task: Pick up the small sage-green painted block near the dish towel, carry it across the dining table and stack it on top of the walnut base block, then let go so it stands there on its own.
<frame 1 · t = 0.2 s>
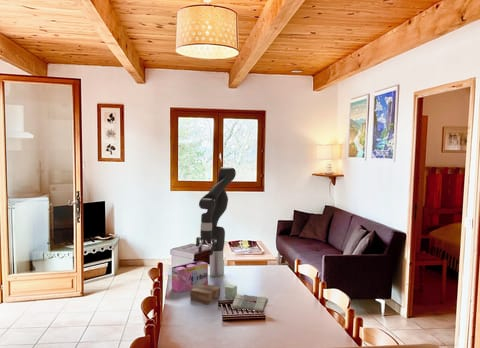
hand: (205, 254, 241), 17 cm above the table, tool pointing down, fingers open, 8 cm apart
sage block: (230, 296, 214), on the table
walnut base: (205, 299, 210), on the table
gum box: (190, 287, 230), on the table
dish towel: (249, 305, 203), on the table
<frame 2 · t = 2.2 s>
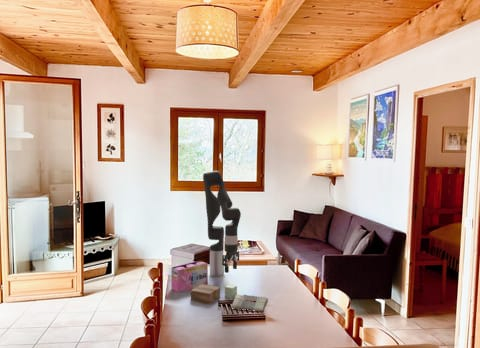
hand: (230, 270, 213), 15 cm above the table, tool pointing down, fingers open, 8 cm apart
nothing on the table moved.
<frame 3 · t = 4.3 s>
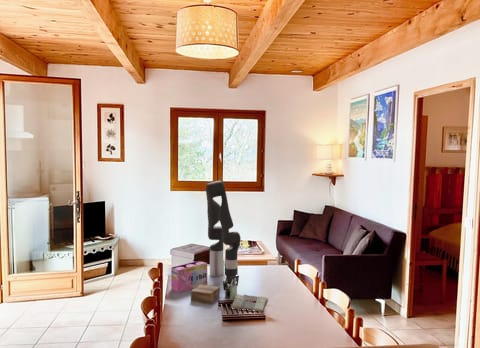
hand: (230, 295, 214), 0 cm above the table, tool pointing down, fingers closed on sage block, 5 cm apart
sage block: (230, 296, 214), on the table, touching gripper
everything else where it was.
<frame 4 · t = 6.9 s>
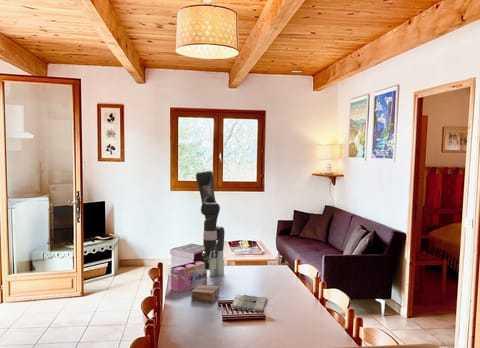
hand: (209, 267, 209), 18 cm above the table, tool pointing down, fingers closed on sage block, 5 cm apart
sage block: (209, 268, 210), point 17 cm above the table, touching gripper
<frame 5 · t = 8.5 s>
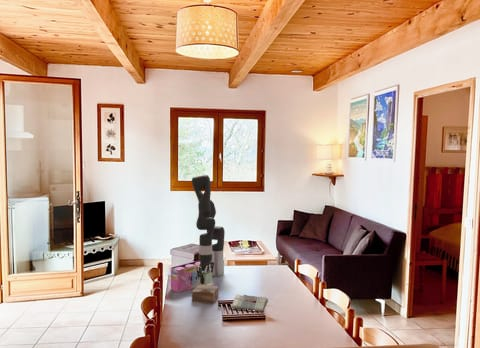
hand: (205, 282, 210), 9 cm above the table, tool pointing down, fingers closed on sage block, 5 cm apart
sage block: (205, 283, 210), point 9 cm above the table, touching gripper
when the fingers open (8 cm above the table, at t = 9.7 s): sage block drops 2 cm, resting on walnut base.
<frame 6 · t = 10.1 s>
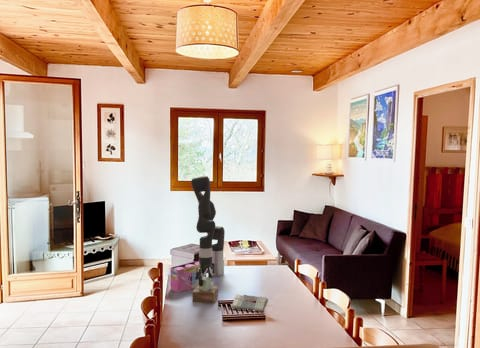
hand: (205, 283, 210), 9 cm above the table, tool pointing down, fingers open, 8 cm apart
sage block: (205, 289, 210), point 6 cm above the table, touching walnut base
walnut base: (205, 299, 210), on the table, touching sage block
everything else where it was.
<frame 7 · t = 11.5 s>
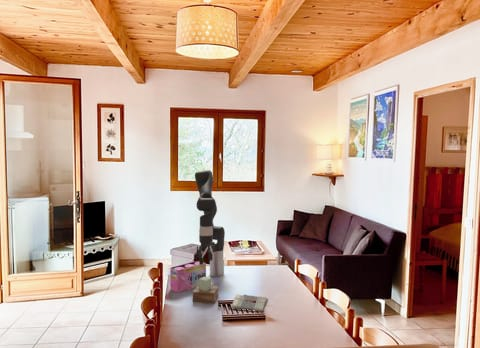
hand: (205, 262, 209), 21 cm above the table, tool pointing down, fingers open, 8 cm apart
sage block: (205, 289, 210), point 6 cm above the table
walnut base: (205, 299, 210), on the table
everything else where it was.
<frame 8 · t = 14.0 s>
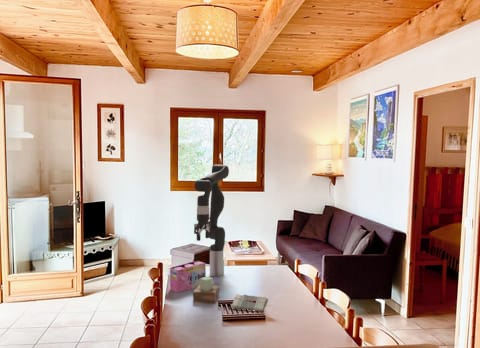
hand: (202, 239, 226), 30 cm above the table, tool pointing down, fingers open, 8 cm apart
sage block: (206, 288, 210), point 6 cm above the table, touching walnut base
walnut base: (206, 299, 210), on the table, touching sage block
at the end: sage block inside the target area on the walnut base (0.1 cm from its centre), point 6.0 cm above the walnut base's base; sage block tilted 0°; the gripper is holding nothing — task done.
